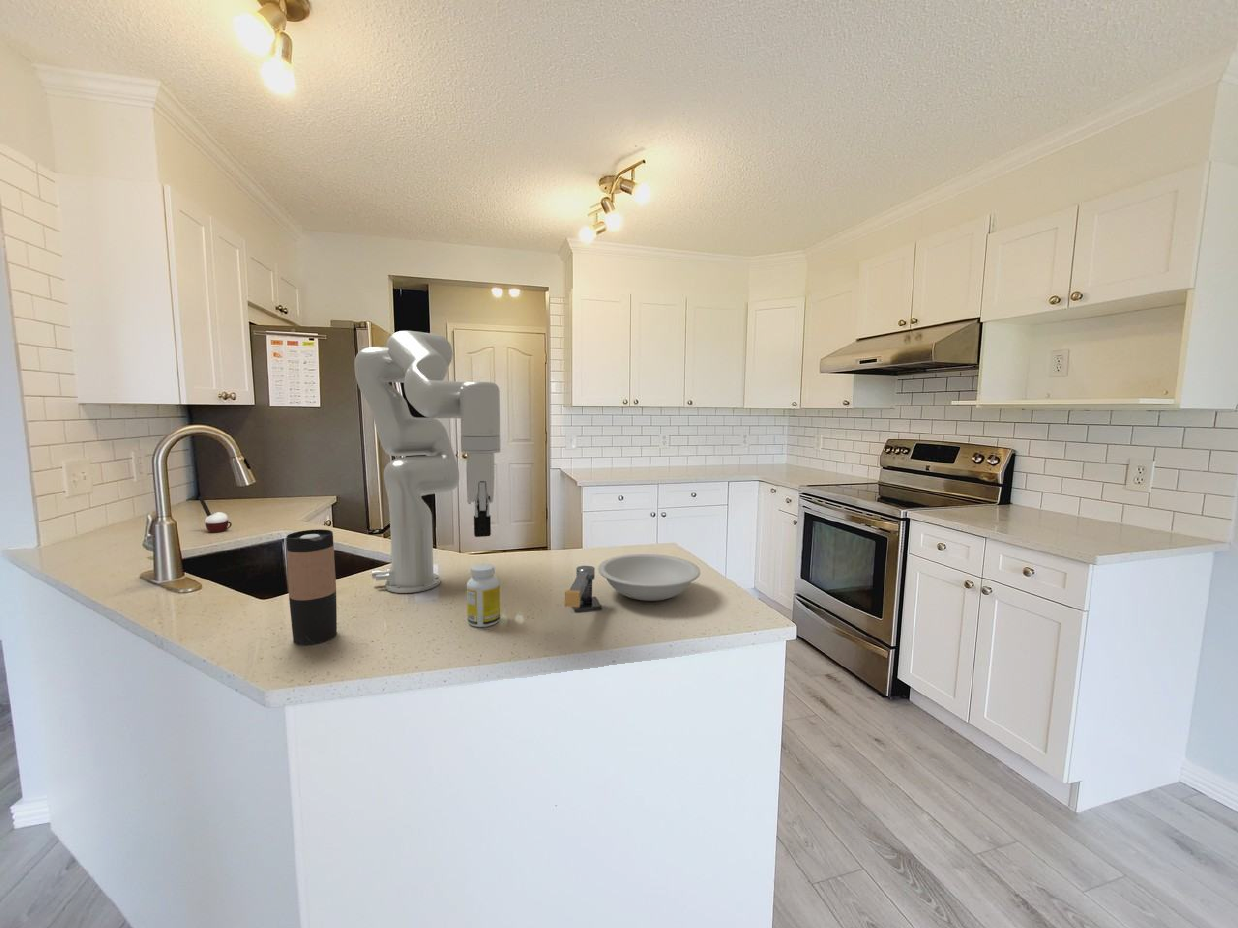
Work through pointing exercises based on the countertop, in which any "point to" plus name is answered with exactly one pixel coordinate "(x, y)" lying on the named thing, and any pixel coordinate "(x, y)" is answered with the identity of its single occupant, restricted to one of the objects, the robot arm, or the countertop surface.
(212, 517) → the cocoa
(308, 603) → the travel mug
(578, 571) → the rail
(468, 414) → the robot arm
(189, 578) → the countertop surface
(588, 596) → the dark grey faucet base
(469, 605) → the pill bottle
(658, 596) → the round sink basin
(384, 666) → the countertop surface
